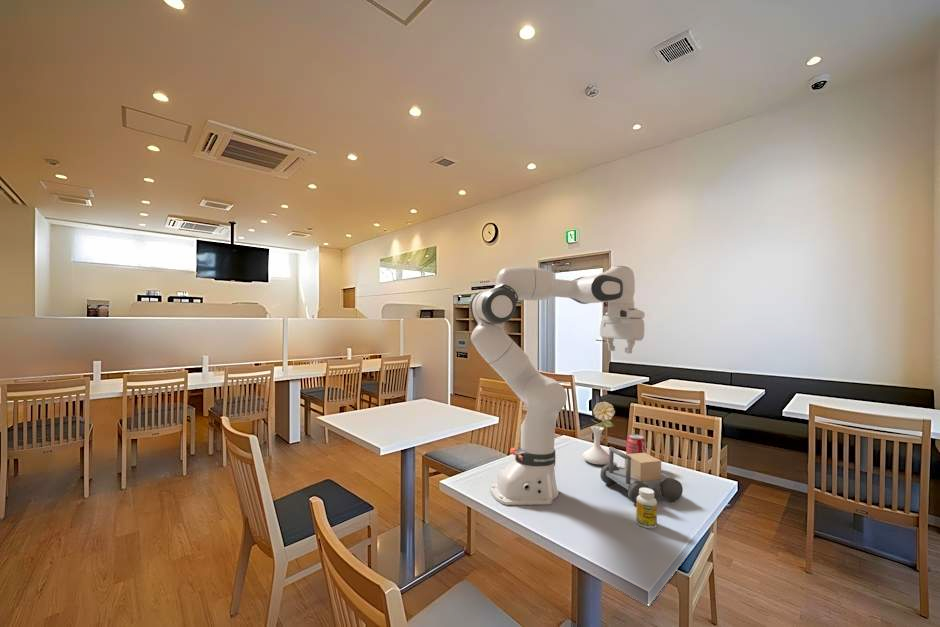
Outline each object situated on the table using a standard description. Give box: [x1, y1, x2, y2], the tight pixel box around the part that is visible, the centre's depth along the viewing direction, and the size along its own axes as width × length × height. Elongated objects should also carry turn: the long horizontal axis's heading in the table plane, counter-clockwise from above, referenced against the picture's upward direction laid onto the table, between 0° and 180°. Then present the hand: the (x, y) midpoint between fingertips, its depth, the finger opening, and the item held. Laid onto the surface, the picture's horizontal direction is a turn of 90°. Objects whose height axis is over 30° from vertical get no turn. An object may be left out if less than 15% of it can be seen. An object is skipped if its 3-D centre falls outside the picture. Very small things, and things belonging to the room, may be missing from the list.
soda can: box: [625, 433, 647, 454], centre depth 156 cm, size 7×7×12 cm
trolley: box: [600, 446, 683, 505], centre depth 133 cm, size 19×17×14 cm
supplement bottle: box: [635, 488, 658, 529], centre depth 113 cm, size 5×5×10 cm
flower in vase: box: [582, 401, 616, 466], centre depth 160 cm, size 13×11×25 cm
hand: (619, 352), depth 139 cm, fingers open, 8 cm apart
